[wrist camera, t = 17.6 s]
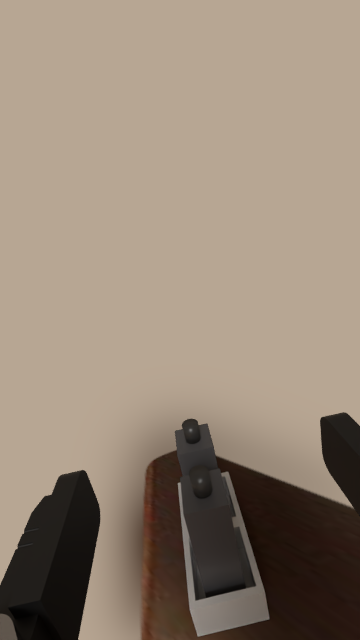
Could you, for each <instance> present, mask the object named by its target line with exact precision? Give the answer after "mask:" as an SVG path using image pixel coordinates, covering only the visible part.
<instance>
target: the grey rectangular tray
mask: <svg viewBox="0 0 360 640" xmlns="http://www.w3.org/2000/svg"><path fill="white" fill-rule="evenodd" d="M221 475H222V479H223V483H224V487H225V491H226V494H227V498H228V502H229V507H230V511H231V516H232V521H233V526H234V531H235V536H236V541H237V546H238V551H239V556H240V561H241V566H242V571H243V576H244V580H245V585H246V589H242V590H238V591H234V592H230V593H225V594H221V595H217V596H213V597H209V598H206V596H205V592H204V588H203V585H202V581H201V577H200V574H199V570H198V566H197V563H196V559H195V555H194V552H193V548H192V544H191V541H190V537H189V533H188V530H187V526H186V522H185V518H184V515H183V504H182V493H181V483H178V490H179V501H180V511H181V522H182V532H183V543H184V553H185V564H186V575H187V585H188V596H189V606H190V612H191V616H192V619H193V622H194V625H195V629H196V632H197V635H198V636H203V635H207V634H211V633H215V632H219V631H223V630H227V629H231V628H236V627H240V626H244V625H248V624H252V623H256V622H260V621H264V620H269V619H270V618H269V613H268V607H267V601H266V595H265V591H264V587H263V584H262V581H261V578H260V574H259V571H258V568H257V564H256V561H255V558H254V555H253V551H252V548H251V545H250V541H249V538H248V535H247V532H246V528H245V525H244V522H243V518H242V515H241V512H240V509H239V505H238V502H237V499H236V495H235V492H234V489H233V486H232V482H231V479H230V476H229V472H224V473H221Z"/></svg>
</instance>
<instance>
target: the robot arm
mask: <svg viewBox="0 0 360 640" xmlns="http://www.w3.org/2000/svg"><path fill="white" fill-rule="evenodd" d="M320 426H321V440H322V454H323V458H324V462H325V464H326V467H327V469H328V471H329V473H330V474H331V476H332V477H333V478H334V480H335V481H336V483H337V484H338V486H339V487H340V488H341V490H342V491H343V493H344V494H345V496H346V497H347V498H348V500H349V501H350V503H351V504H352V506H353V507H354V509H355V510H356V511H357V513H358V514H359V516H360V426H359V425H358V424H357V423H356V422H355V421H354V420H353V419H352V418H351V417H350V416H349V415H348V414H347V413H339V414H335V415H330V416H326V417H322V418H321V420H320ZM99 526H100V508H99V504H98V501H97V498H96V496H95V493H94V491H93V488H92V485H91V483H90V480H89V478H88V476H87V473H86V472H85V471H84V470H81V471H77V472H72V473H68V474H64V475H61V476H60V477H59V478H58V480H57V482H56V485H55V488H54V490H53V493H52V495H49V496H45V497H44V498H43V499H42V500H41V502H40V503H39V504H38V505H37V507H36V508H35V509H34V511H33V512H32V513H31V516H30V518H29V520H28V523H27V525H26V527H25V530H24V534H22V536H21V539H20V541H19V543H18V549H16V550H15V553H14V555H13V557H12V560H11V562H10V564H9V566H8V569H7V571H6V573H5V576H4V578H3V580H2V582H1V585H0V640H78V636H79V631H80V626H81V620H82V615H83V610H84V605H85V599H86V594H87V589H88V584H89V578H90V574H91V568H92V563H93V558H94V553H95V547H96V541H97V537H98V531H99Z"/></svg>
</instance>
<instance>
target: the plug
mask: <svg viewBox="0 0 360 640" xmlns="http://www.w3.org/2000/svg"><path fill="white" fill-rule="evenodd" d="M180 482H181V493H182V504H183V515H184V518H185V522H186V526H187V530H188V533H189V537H190V541H191V544H192V548H193V552H194V555H195V559H196V563H197V566H198V570H199V574H200V577H201V581H202V585H203V588H204V592H205V596H206V598H209V597H213V596H217V595H221V594H225V593H230V592H234V591H238V590H242V589H246V585H245V580H244V576H243V571H242V566H241V561H240V556H239V551H238V546H237V541H236V536H235V531H234V526H233V521H232V516H231V511H230V507H229V502H228V498H227V494H226V491H225V487H224V483H223V479H222V475H221V471H220V468H219V469H215V470H210V471H209V470H208V468H207V467H205V466H203V465H198V466H195V467H193V468H192V469H191V470H190V472H189V475H187V476H183V477H180Z"/></svg>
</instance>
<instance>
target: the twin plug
mask: <svg viewBox="0 0 360 640" xmlns="http://www.w3.org/2000/svg"><path fill="white" fill-rule="evenodd" d="M182 428H183V429H182V430H177V431H175V436H176V446H177V455H178V459H179V463H180V467H181V471H182V475H183V476H187V475H189V472H190V470H191V469H192V468H193V467H195V466H198V465H203V466H205V467H207V468H208V470H209V471H210V470H215V469H218V466H217V461H216V456H215V452H214V446H213V443H212V439H211V435H210V432H209V428H208V424H203V425H198V422H197V420H195V419H188V420H185V421H184V422H183V424H182Z"/></svg>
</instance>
